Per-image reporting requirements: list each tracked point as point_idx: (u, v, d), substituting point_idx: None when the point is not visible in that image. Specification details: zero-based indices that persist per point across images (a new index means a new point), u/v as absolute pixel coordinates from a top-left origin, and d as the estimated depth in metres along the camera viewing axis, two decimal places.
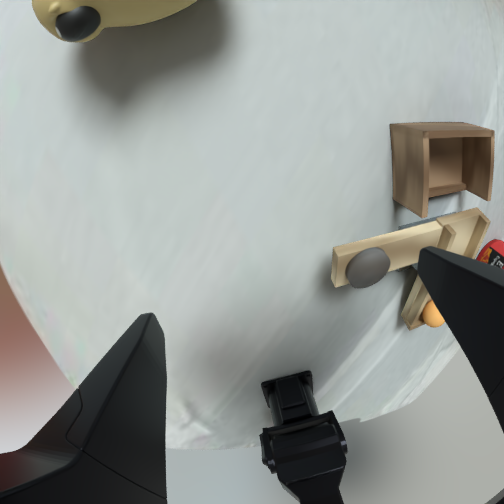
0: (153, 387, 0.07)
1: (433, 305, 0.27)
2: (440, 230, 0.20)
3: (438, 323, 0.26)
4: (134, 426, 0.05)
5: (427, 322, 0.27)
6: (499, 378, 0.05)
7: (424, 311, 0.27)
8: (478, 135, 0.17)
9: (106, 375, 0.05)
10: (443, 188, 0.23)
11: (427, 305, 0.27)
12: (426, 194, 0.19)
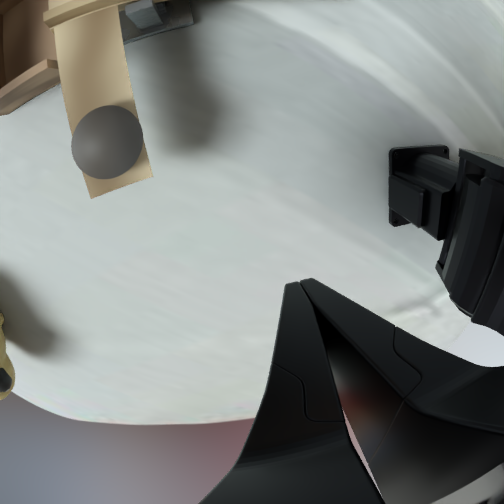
0: None
1: None
2: (58, 27, 0.08)
3: None
4: None
5: None
6: (372, 450, 0.05)
7: None
8: None
9: (303, 342, 0.06)
10: None
11: None
12: (21, 78, 0.09)
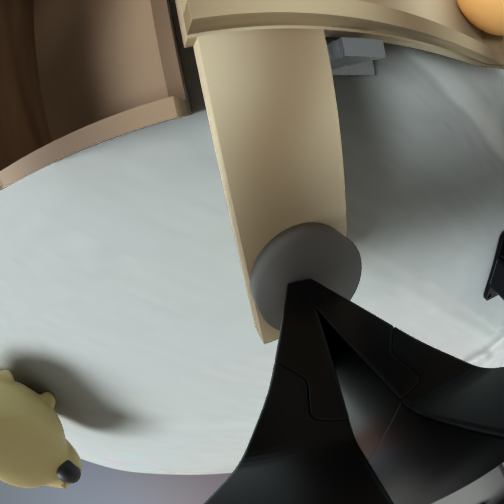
0: None
1: (469, 6, 0.05)
2: (209, 39, 0.05)
3: None
4: None
5: None
6: (370, 451, 0.05)
7: (480, 28, 0.06)
8: None
9: (306, 341, 0.06)
10: None
11: (467, 17, 0.06)
12: (106, 126, 0.06)
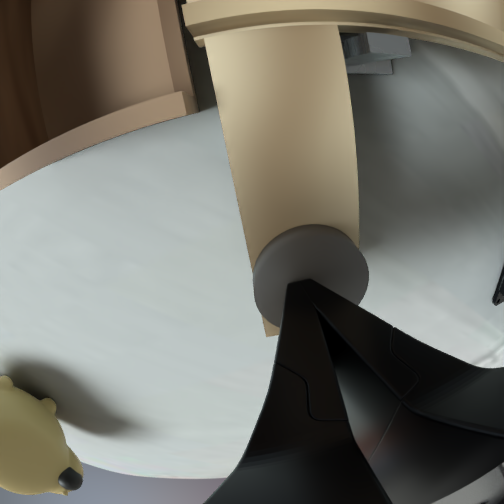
0: None
1: None
2: (215, 40, 0.06)
3: None
4: None
5: None
6: (370, 451, 0.05)
7: None
8: None
9: (306, 341, 0.06)
10: None
11: None
12: (105, 124, 0.06)
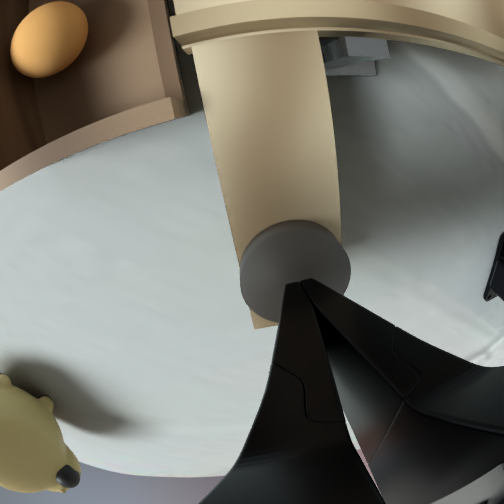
0: None
1: (17, 59, 0.05)
2: (201, 48, 0.06)
3: (71, 31, 0.06)
4: None
5: (65, 63, 0.07)
6: (372, 450, 0.05)
7: (36, 77, 0.07)
8: None
9: (303, 342, 0.06)
10: None
11: (21, 72, 0.06)
12: (101, 128, 0.06)
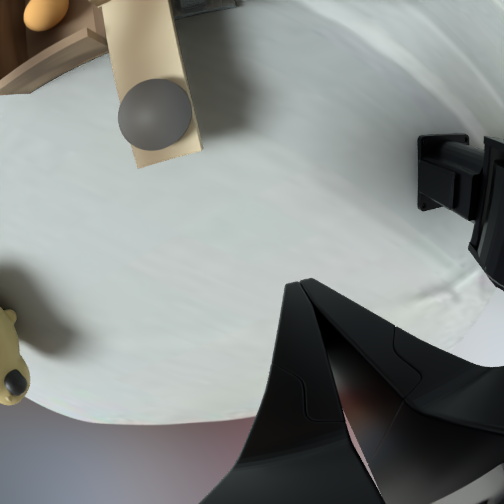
0: None
1: (35, 12, 0.08)
2: (106, 5, 0.09)
3: (66, 5, 0.09)
4: None
5: (55, 23, 0.10)
6: (372, 450, 0.05)
7: (36, 28, 0.09)
8: None
9: (303, 342, 0.06)
10: None
11: (29, 23, 0.08)
12: (55, 47, 0.09)
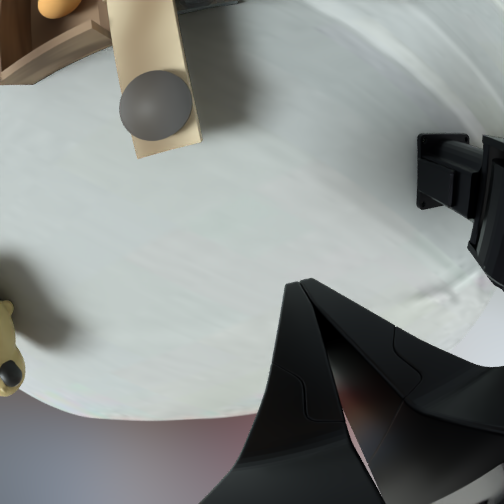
0: None
1: None
2: None
3: None
4: None
5: (68, 13, 0.10)
6: (372, 450, 0.05)
7: (52, 12, 0.09)
8: None
9: (303, 342, 0.06)
10: None
11: (48, 5, 0.08)
12: (59, 38, 0.09)
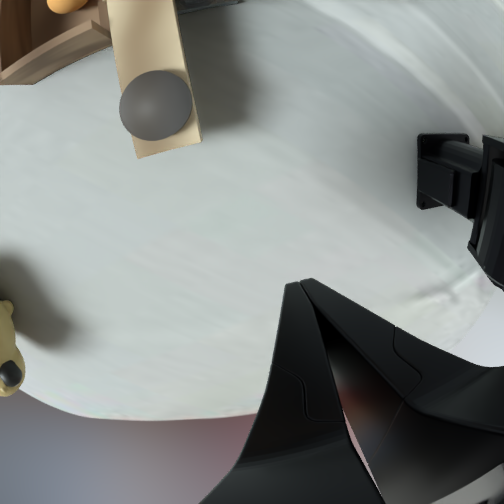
0: None
1: None
2: None
3: None
4: None
5: (75, 10, 0.10)
6: (372, 450, 0.05)
7: (65, 5, 0.09)
8: None
9: (303, 342, 0.06)
10: None
11: None
12: (59, 38, 0.09)
